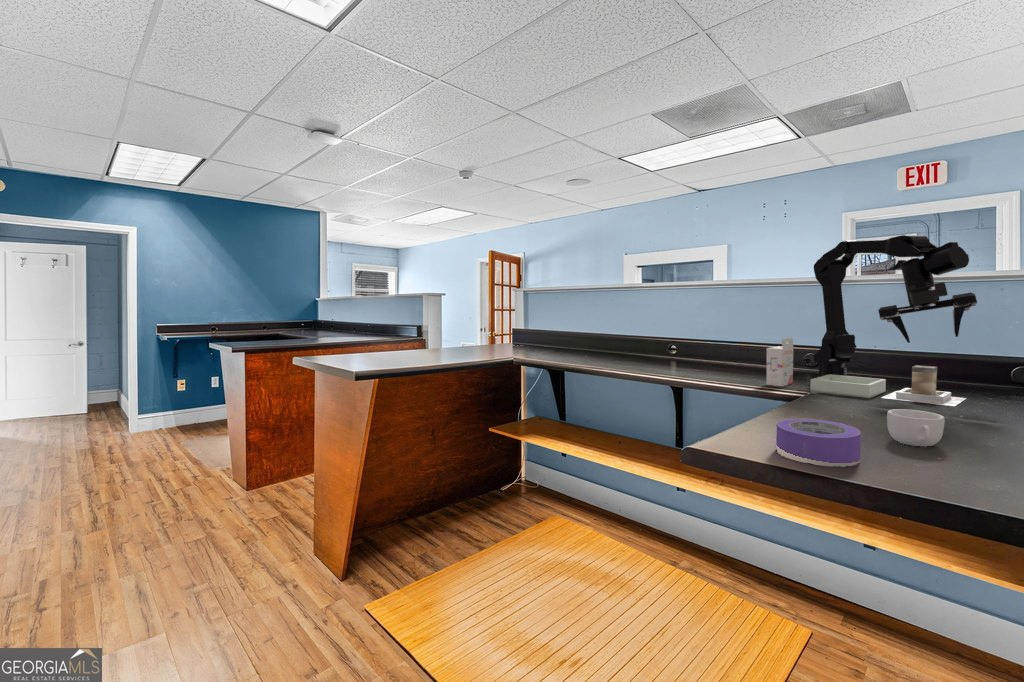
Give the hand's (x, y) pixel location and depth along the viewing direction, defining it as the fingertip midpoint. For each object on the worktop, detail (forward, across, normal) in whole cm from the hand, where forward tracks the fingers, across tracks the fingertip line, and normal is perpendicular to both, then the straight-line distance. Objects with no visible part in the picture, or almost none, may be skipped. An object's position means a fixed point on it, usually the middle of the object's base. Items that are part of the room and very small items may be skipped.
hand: (932, 339), depth 118 cm
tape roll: (+23, -20, -66) cm, 72 cm away
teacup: (+23, -7, -49) cm, 54 cm away
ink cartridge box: (+8, -37, +7) cm, 39 cm away
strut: (+14, -4, 0) cm, 15 cm away
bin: (+12, -20, 0) cm, 23 cm away
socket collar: (+15, -4, 0) cm, 16 cm away
